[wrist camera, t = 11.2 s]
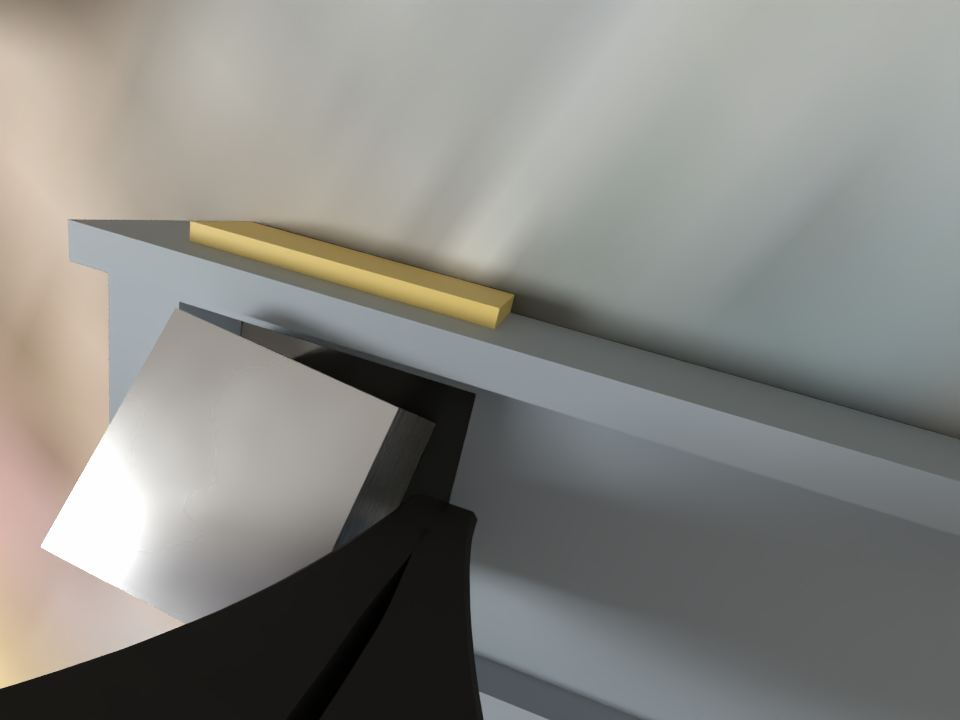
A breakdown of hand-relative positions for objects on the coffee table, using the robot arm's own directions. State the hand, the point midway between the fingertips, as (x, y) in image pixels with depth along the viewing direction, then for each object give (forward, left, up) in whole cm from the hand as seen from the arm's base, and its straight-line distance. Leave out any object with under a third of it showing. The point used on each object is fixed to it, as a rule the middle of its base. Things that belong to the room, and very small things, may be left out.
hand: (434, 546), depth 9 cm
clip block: (-1, +3, -2) cm, 4 cm away
